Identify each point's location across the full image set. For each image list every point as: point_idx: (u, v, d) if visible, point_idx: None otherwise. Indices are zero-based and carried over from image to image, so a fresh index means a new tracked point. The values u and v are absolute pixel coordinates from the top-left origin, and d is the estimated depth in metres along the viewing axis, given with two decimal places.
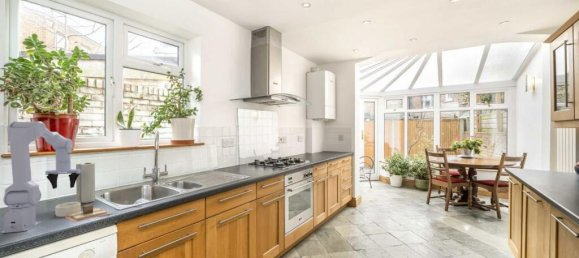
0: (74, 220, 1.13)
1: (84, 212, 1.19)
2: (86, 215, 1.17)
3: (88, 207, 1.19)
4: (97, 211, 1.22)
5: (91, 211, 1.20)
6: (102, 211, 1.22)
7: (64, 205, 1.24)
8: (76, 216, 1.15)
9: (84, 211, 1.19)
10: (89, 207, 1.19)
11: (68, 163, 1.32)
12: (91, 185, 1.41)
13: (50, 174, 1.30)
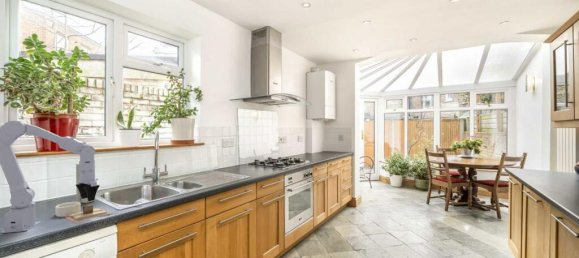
0: (74, 220, 1.13)
1: (84, 212, 1.19)
2: (86, 215, 1.17)
3: (88, 207, 1.19)
4: (97, 211, 1.22)
5: (91, 211, 1.20)
6: (102, 211, 1.22)
7: (64, 205, 1.24)
8: (76, 216, 1.15)
9: (84, 211, 1.19)
10: (89, 207, 1.19)
11: (87, 173, 1.18)
12: None
13: (81, 182, 1.22)
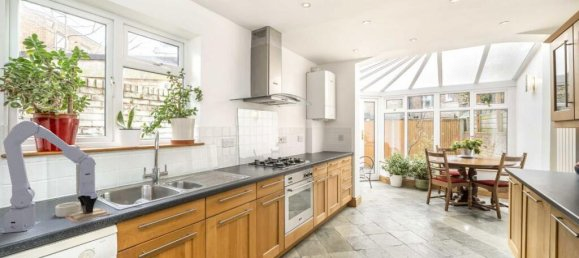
0: (74, 220, 1.13)
1: (84, 212, 1.19)
2: (86, 215, 1.17)
3: None
4: (97, 211, 1.22)
5: None
6: (102, 211, 1.22)
7: (64, 205, 1.24)
8: (76, 216, 1.15)
9: (84, 211, 1.19)
10: None
11: (87, 185, 1.18)
12: None
13: (81, 194, 1.22)
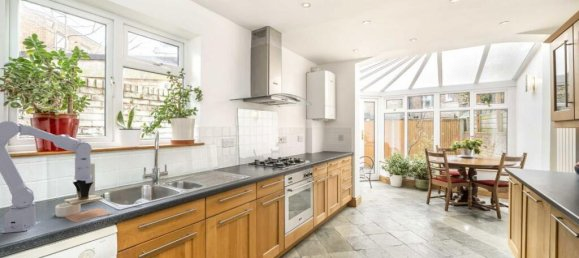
0: (74, 220, 1.13)
1: (80, 198, 1.19)
2: (81, 200, 1.17)
3: None
4: (93, 197, 1.22)
5: (87, 197, 1.20)
6: (98, 197, 1.22)
7: (64, 205, 1.24)
8: (71, 201, 1.16)
9: (80, 197, 1.19)
10: None
11: (83, 170, 1.18)
12: (91, 185, 1.41)
13: (76, 179, 1.23)
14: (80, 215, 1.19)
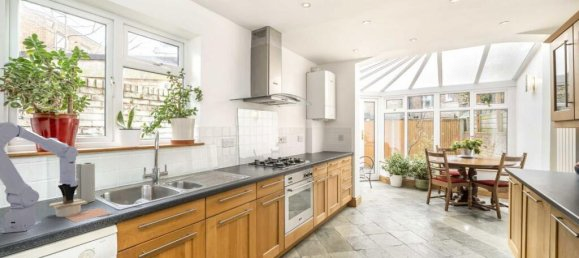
0: (74, 220, 1.13)
1: (64, 202, 1.21)
2: (66, 205, 1.19)
3: None
4: (78, 201, 1.24)
5: (71, 201, 1.22)
6: (83, 201, 1.24)
7: None
8: (56, 205, 1.18)
9: (64, 201, 1.21)
10: None
11: (67, 174, 1.20)
12: (91, 185, 1.41)
13: None
14: (80, 215, 1.19)
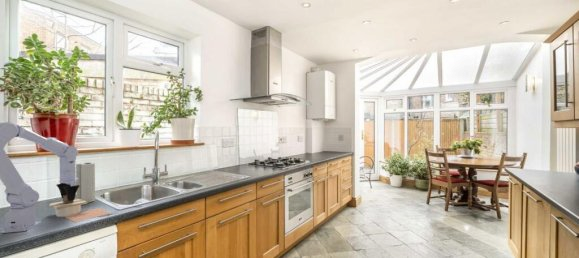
0: (74, 220, 1.13)
1: (64, 202, 1.21)
2: (66, 205, 1.19)
3: None
4: (78, 201, 1.24)
5: (71, 201, 1.22)
6: (83, 201, 1.24)
7: None
8: (56, 205, 1.18)
9: (64, 201, 1.21)
10: None
11: (67, 173, 1.20)
12: (91, 185, 1.41)
13: (61, 182, 1.24)
14: (80, 215, 1.19)
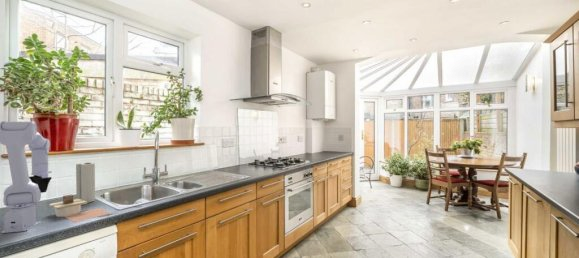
0: (74, 220, 1.13)
1: (64, 202, 1.21)
2: (66, 205, 1.19)
3: (69, 197, 1.21)
4: (78, 201, 1.24)
5: (71, 201, 1.22)
6: (83, 201, 1.24)
7: None
8: (56, 205, 1.18)
9: (64, 201, 1.21)
10: (69, 197, 1.22)
11: (39, 165, 1.22)
12: (91, 185, 1.41)
13: (34, 175, 1.26)
14: (80, 215, 1.19)
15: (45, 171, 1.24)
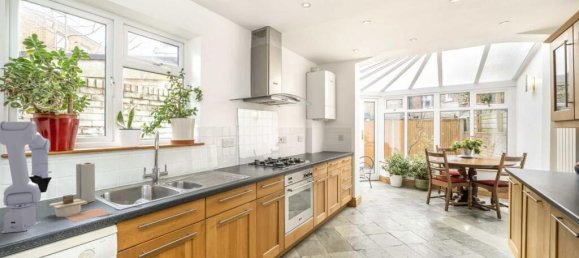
0: (74, 220, 1.13)
1: (64, 202, 1.21)
2: (66, 205, 1.19)
3: (69, 197, 1.21)
4: (78, 201, 1.24)
5: (71, 201, 1.22)
6: (83, 201, 1.24)
7: None
8: (56, 205, 1.18)
9: (64, 201, 1.21)
10: (69, 197, 1.22)
11: (39, 165, 1.22)
12: (91, 185, 1.41)
13: (34, 175, 1.26)
14: (80, 215, 1.19)
15: (45, 171, 1.24)
